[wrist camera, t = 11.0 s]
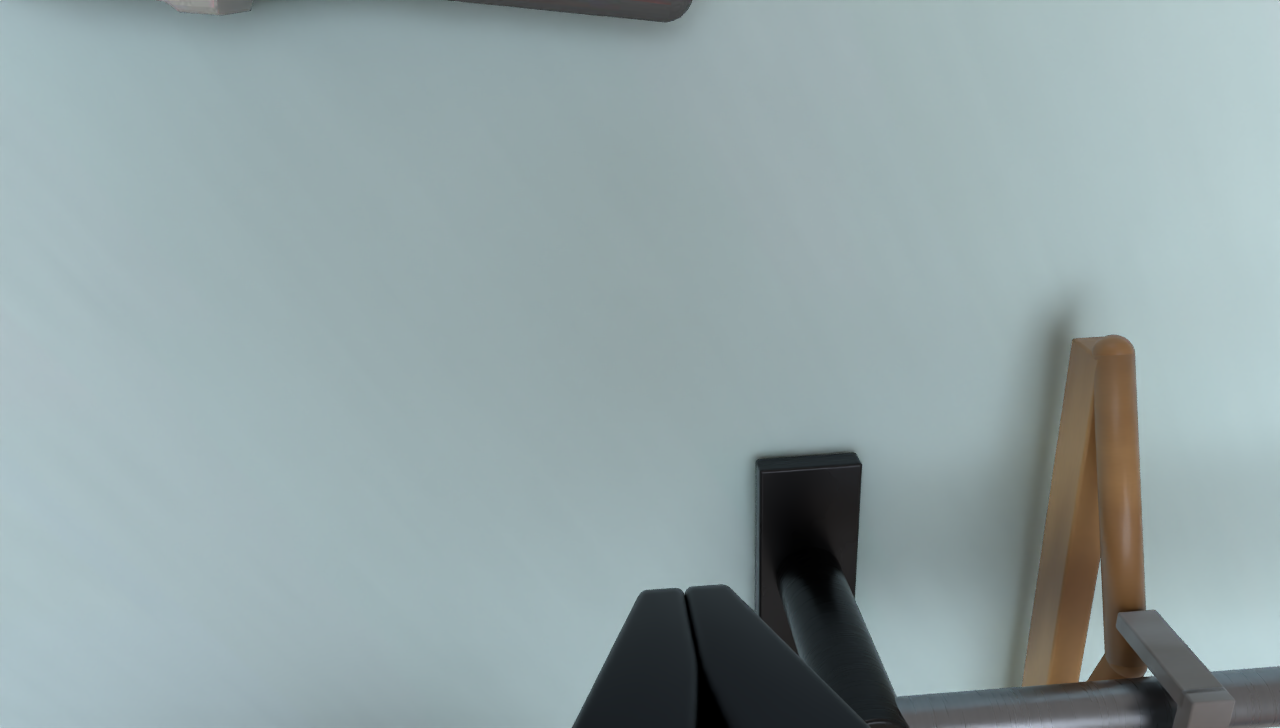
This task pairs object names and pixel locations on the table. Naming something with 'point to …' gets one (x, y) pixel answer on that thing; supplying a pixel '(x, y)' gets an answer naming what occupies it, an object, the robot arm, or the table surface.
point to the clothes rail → (847, 658)
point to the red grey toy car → (641, 3)
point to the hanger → (1107, 547)
